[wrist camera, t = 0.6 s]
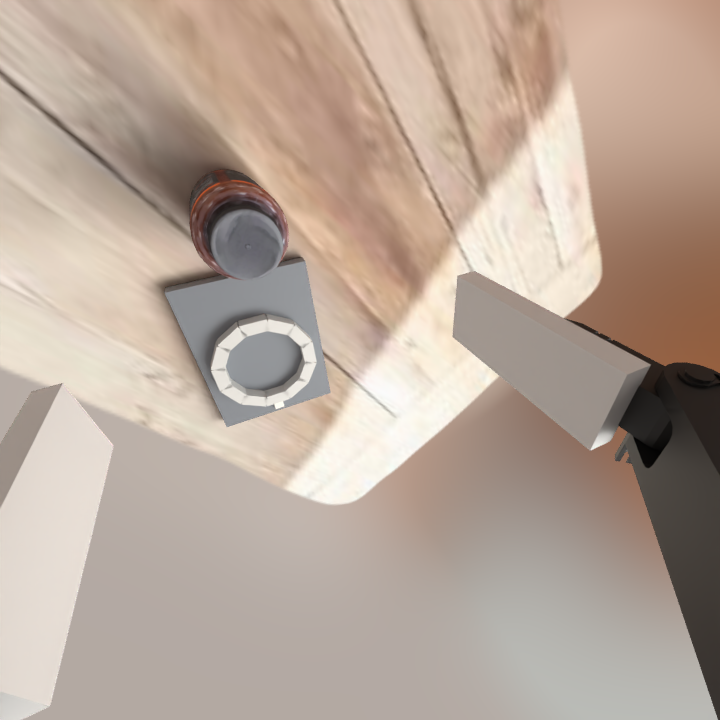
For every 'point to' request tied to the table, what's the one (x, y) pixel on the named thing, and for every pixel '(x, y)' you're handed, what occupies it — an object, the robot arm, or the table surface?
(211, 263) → the supplement bottle
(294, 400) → the hub board
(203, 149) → the table surface
